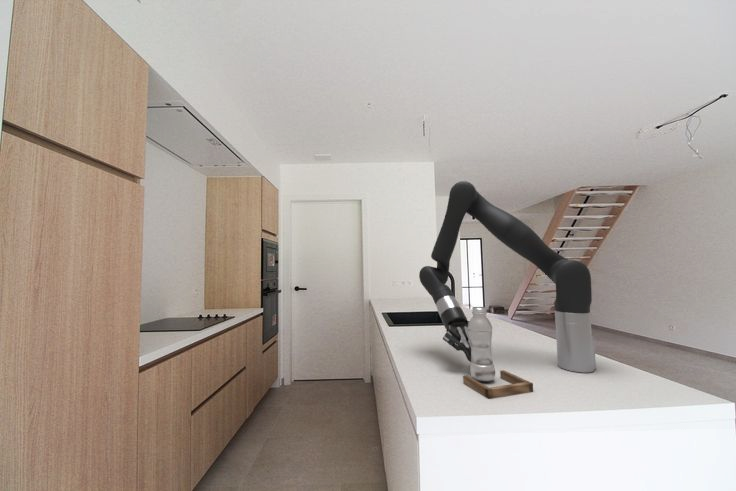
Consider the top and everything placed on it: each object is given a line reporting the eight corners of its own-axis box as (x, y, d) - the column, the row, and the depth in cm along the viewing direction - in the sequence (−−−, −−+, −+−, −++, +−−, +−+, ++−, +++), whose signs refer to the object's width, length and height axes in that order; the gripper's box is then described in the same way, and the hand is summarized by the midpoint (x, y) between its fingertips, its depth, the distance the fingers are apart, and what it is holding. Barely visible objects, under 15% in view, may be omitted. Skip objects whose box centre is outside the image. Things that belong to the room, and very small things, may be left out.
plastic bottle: (497, 385, 79) (494, 309, 81) (471, 383, 81) (467, 308, 83) (493, 376, 86) (490, 306, 87) (468, 375, 87) (465, 306, 89)
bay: (504, 377, 85) (503, 370, 85) (533, 391, 75) (532, 383, 76) (463, 383, 81) (463, 375, 81) (488, 398, 72) (488, 390, 72)
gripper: (436, 306, 95) (459, 357, 83) (472, 305, 99) (499, 353, 86) (429, 320, 100) (449, 370, 87) (463, 318, 104) (488, 366, 91)
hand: (474, 361), depth 87 cm, fingers closed
